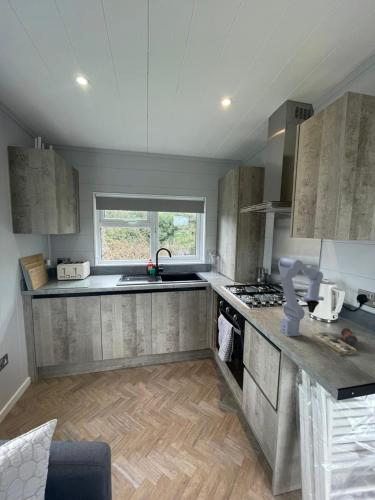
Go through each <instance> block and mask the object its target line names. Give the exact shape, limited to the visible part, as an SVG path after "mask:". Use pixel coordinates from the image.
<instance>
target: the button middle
mask: <svg viewBox="0 0 375 500" xmlns="http://www.w3.org/2000/svg"><path fill="white" fill-rule="evenodd" d="M335 337H336V336H334V337H331V341H332V342H334V343H338V339H339V338H338V337H336V338H335Z"/></svg>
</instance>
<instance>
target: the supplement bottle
mask: <svg viewBox="0 0 375 500" xmlns="http://www.w3.org/2000/svg"><path fill="white" fill-rule="evenodd" d="M340 334H341V337H342V339H343V342H344V343H346V344H348V345H349V346H351V347H356V346H357V344H358V341H359V339H358V338H357V336H356V334H355V331H353V329H351V328H348V327H347V328H346V327H344V328H342V330H341V331H340Z"/></svg>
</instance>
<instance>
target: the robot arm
mask: <svg viewBox="0 0 375 500" xmlns="http://www.w3.org/2000/svg"><path fill="white" fill-rule="evenodd" d="M277 265H278V266H277V267H278V270H279V278H280V282H281V285H282V290H283V294H284V298H285V301H284V303H283V305H282V306H283V307H282V311H283V314H284V316H285V317H282V318H281V320H280V325H279V327H280V328H278V330H279V331H280V332H281V333H283V334H284V335H285V336H287V337H296V336H303V333H301V332H300V322H301V320H303V319H304V317H305V315H306V314H305V310H304V308H303V306H302V305H301V304H300V303H299V302H298V300H297V295H296V290H295V287H294V283H293V278H296V277H297V275H298V273H299V271H302V274H303V275H304V276H306V277H307V279H308V287H307V288H308V289H307V295H306V296H302V297H301V298H300V301H301V302H304V303H305V302H306V304H307V308H308V313H311V314H313V313H314V312H315V309H316V307H318V305H319V303H320V301H325V297H324V296H320V295H319V294H320V290H321V289H320V287H321V284H322V282H323V279H324V273H323V272H322V271H320V270H317V268H314V267H313V265H311V264H309V265H306V264H305V263H303V261H302V260H299V259H294V258H290V257H284V256H283V257H281V258H280V259H279V261H278V264H277Z"/></svg>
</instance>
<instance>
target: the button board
mask: <svg viewBox="0 0 375 500" xmlns="http://www.w3.org/2000/svg"><path fill="white" fill-rule="evenodd" d="M321 333H322V332H315V333H311V339H314V340H315V341H316V342H317V343H319V344H321V345H322V346H324V347H326V348H327V349H329V350H331V351H332V352H333V353H335V354H336V355H338V356H340V357H341V356H346V355H353V354H356V353H357V349H356V348H354V346H350V345H348V344H346V343H345V341H344V340H341V339H339V338H337V337H336V336H334V335H332V334H331V333H329V332H327V331H325V332H323V333H326V334H327V336H325V337H324V336H322V335H320V334H321ZM331 337H335V338H337V339H338V343H334V342H332V341H331ZM342 346H348V347H349V348H350V350H345V349H343V348H342Z"/></svg>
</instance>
